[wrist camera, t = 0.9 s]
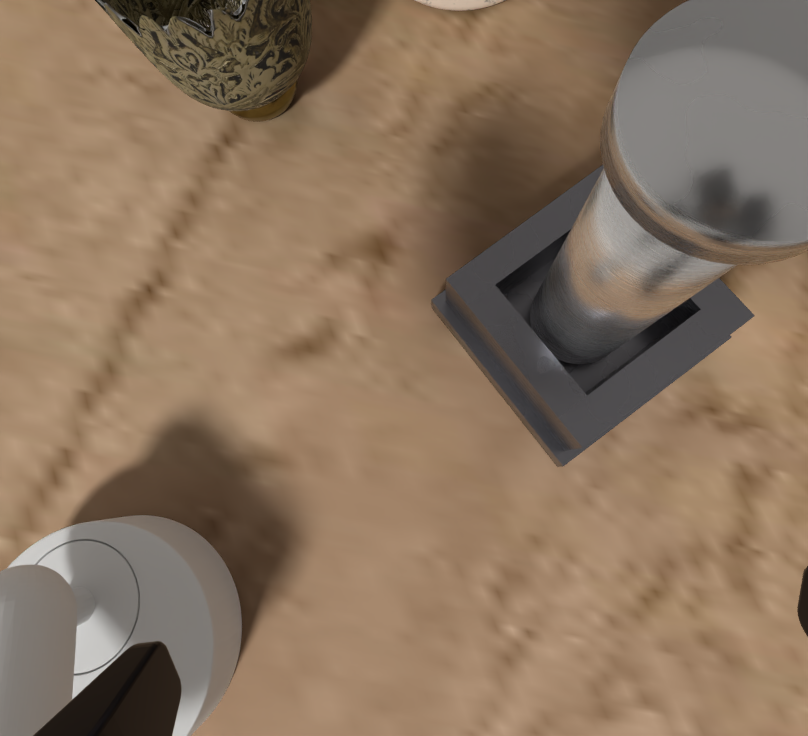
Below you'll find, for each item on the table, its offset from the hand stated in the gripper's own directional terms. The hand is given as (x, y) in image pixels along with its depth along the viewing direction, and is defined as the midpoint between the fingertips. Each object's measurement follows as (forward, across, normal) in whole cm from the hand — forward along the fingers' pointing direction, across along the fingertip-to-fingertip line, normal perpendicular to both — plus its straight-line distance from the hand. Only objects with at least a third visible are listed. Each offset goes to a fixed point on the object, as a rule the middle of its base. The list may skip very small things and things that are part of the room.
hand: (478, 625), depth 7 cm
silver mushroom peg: (+14, -6, 0) cm, 15 cm away
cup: (+22, +6, -10) cm, 25 cm away
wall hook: (+9, +13, +10) cm, 18 cm away
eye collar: (+15, -6, +1) cm, 16 cm away
